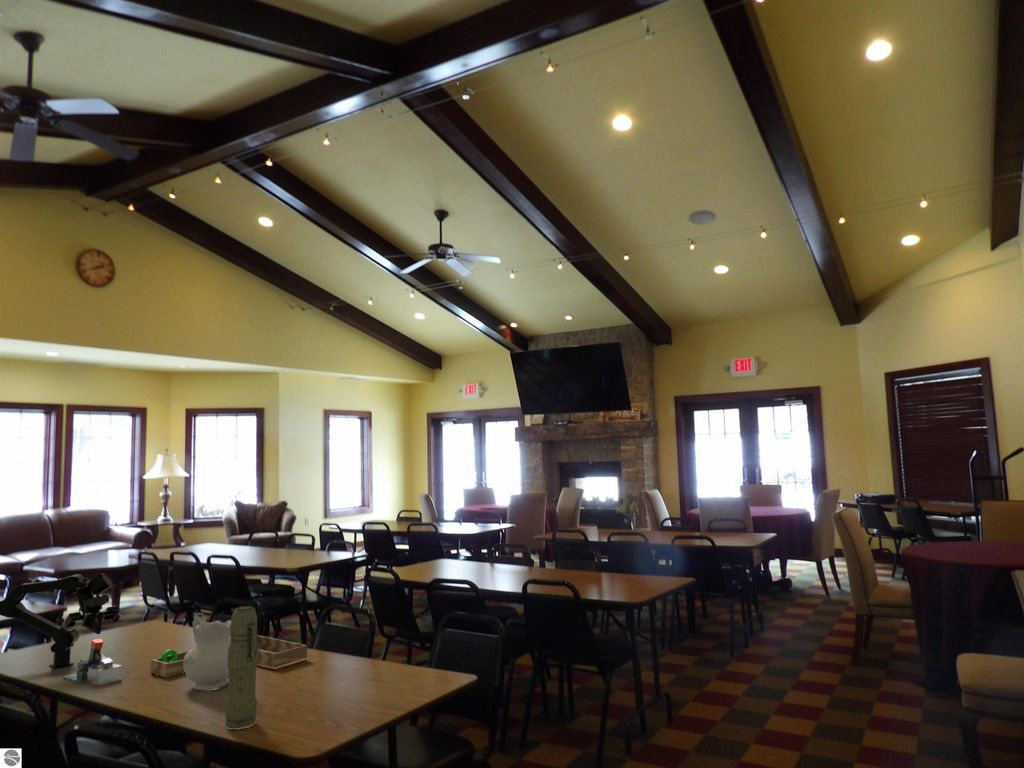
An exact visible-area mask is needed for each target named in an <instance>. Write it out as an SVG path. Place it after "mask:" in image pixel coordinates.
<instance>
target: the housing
mask: <svg viewBox="0 0 1024 768" xmlns="http://www.w3.org/2000/svg"><path fill="white" fill-rule="evenodd" d="M122 668H123V666H122V665H121V664H118V663H114V662H113V666H111V667H108V668H103V669H102V668H101V665H98V666H94V667H89V669H88V682H87V683H89V682H90V683H89V684H93V685H96V686H98V685H99V686H103V685H107V684H111V683H115V682H118V680H119V681H122V673H123V672H122V670H123V669H122ZM114 681H115V682H114ZM110 682H111V683H110Z"/></svg>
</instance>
